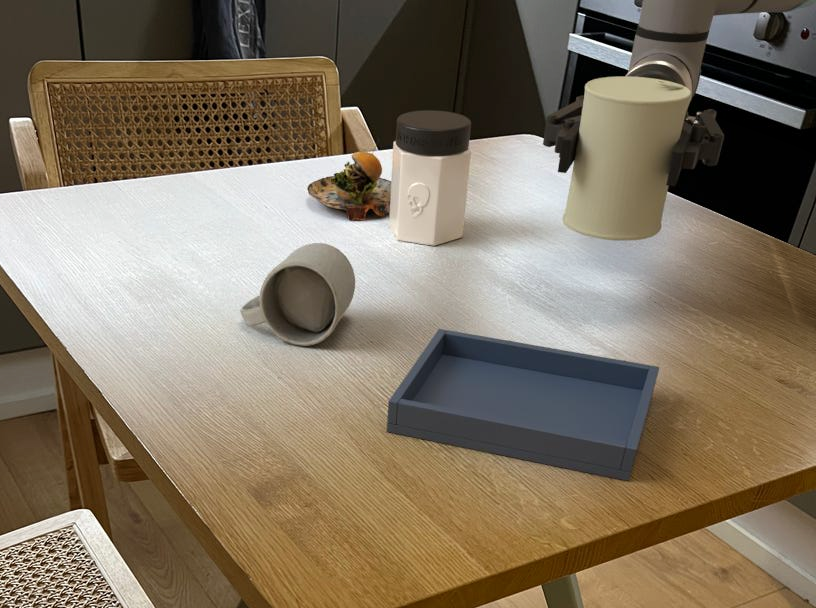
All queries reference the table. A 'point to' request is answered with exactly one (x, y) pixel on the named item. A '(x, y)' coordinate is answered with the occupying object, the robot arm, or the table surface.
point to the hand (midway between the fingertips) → (618, 162)
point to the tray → (526, 402)
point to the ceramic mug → (304, 295)
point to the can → (624, 156)
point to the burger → (355, 188)
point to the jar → (430, 177)
